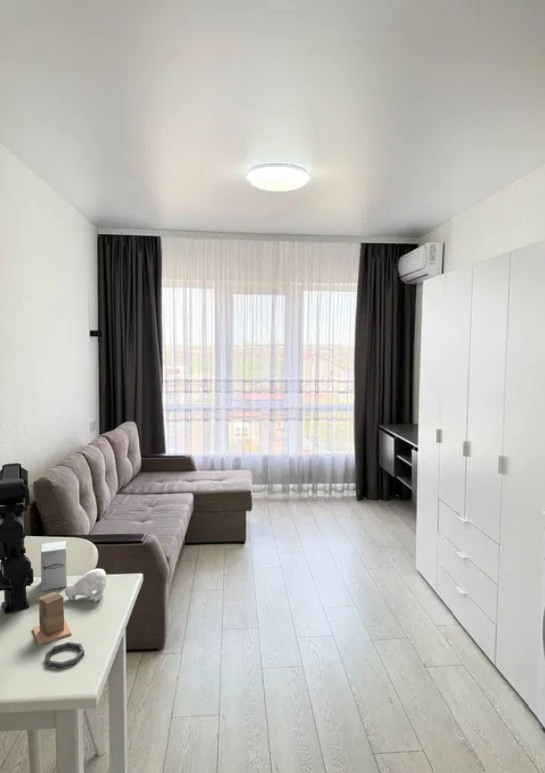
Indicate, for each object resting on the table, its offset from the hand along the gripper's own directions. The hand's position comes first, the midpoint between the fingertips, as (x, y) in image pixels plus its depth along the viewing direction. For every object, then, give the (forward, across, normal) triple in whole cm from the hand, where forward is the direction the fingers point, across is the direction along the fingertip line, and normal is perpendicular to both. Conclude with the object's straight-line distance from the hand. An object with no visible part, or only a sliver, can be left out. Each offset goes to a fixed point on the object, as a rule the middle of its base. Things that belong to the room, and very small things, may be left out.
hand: (13, 587), depth 131 cm
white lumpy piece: (+12, -8, +20) cm, 25 cm away
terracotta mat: (+12, +6, +8) cm, 16 cm away
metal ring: (+12, +19, +8) cm, 24 cm away
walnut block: (+11, +6, +8) cm, 15 cm away
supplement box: (+12, -22, +14) cm, 29 cm away
